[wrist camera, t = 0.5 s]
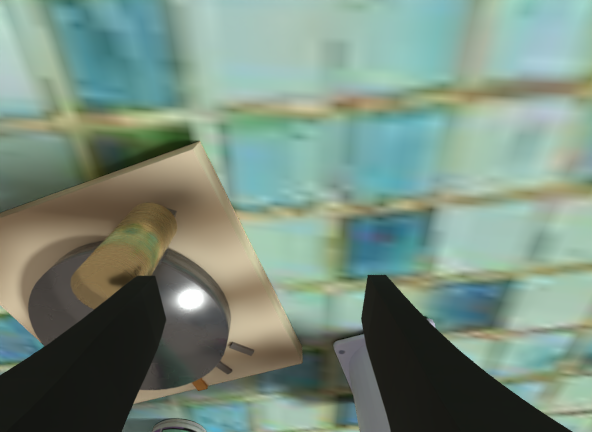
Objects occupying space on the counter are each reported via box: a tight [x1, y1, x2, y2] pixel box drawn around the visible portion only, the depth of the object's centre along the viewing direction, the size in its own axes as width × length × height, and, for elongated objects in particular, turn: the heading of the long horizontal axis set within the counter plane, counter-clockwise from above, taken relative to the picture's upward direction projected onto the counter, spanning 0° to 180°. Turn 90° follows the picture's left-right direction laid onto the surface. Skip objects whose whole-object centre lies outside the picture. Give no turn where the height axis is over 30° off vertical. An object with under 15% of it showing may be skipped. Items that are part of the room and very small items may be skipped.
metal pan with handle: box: [28, 202, 231, 390], centre depth 18 cm, size 17×12×6 cm
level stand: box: [0, 141, 303, 404], centre depth 22 cm, size 18×17×2 cm
